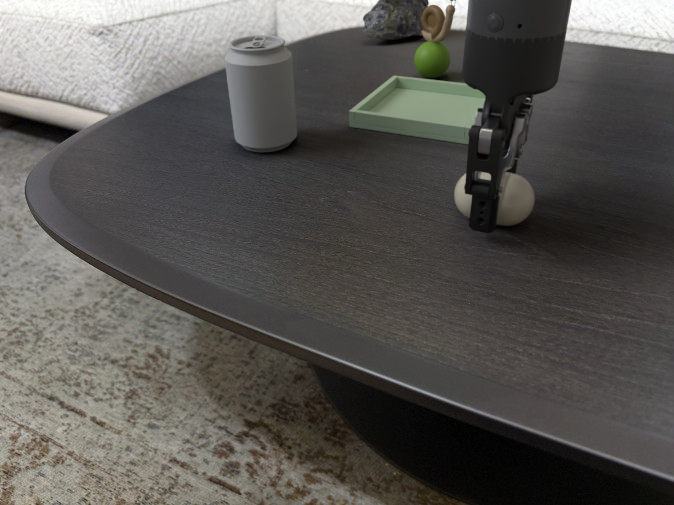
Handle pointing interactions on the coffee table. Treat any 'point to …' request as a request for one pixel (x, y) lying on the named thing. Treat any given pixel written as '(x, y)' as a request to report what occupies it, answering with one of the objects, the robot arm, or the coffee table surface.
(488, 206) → the robot arm
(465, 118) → the tray
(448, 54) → the snail figurine
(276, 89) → the can
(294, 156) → the coffee table surface
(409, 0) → the mineral rock
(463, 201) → the cream lobed oval
